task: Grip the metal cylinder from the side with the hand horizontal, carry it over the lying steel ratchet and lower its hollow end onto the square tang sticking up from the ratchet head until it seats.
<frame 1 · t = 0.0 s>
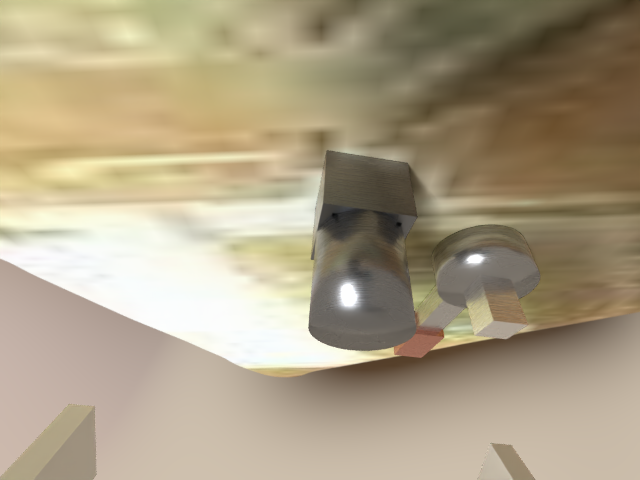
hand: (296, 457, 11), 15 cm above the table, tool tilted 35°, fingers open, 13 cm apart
ratchet: (476, 254, 26), on the table
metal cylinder: (357, 187, 22), on the table
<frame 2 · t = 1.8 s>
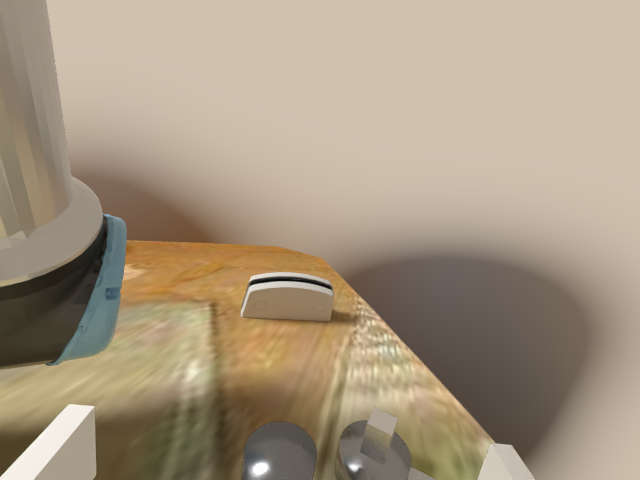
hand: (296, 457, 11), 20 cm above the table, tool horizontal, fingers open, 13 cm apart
ratchet: (369, 472, 33), on the table
hinge: (286, 317, 61), on the table
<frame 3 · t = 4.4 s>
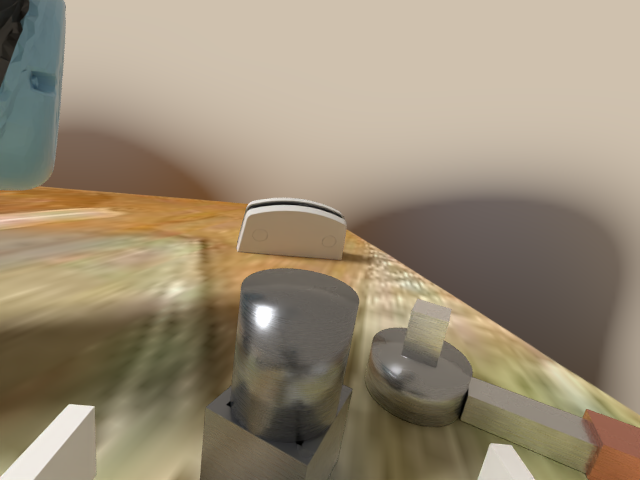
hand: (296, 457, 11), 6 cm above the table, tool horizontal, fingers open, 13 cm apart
ratchet: (411, 388, 24), on the table
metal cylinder: (274, 472, 16), on the table
hinge: (290, 255, 52), on the table
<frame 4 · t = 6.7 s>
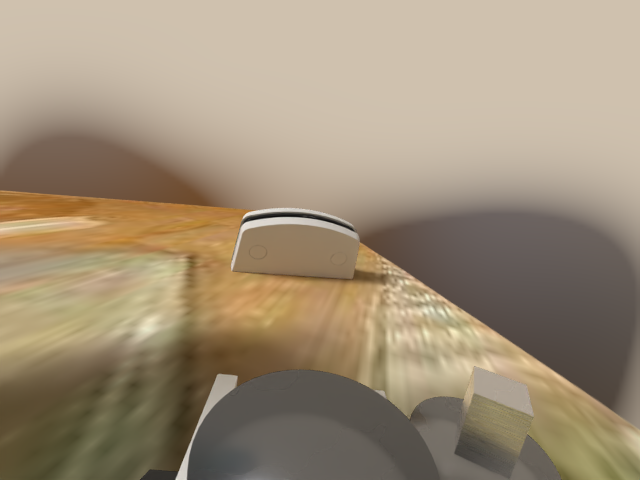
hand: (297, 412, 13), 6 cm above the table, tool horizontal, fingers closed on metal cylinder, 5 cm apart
hinge: (293, 274, 45), on the table
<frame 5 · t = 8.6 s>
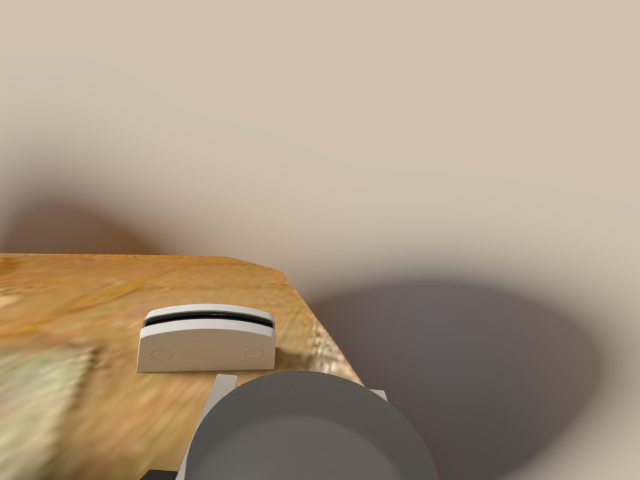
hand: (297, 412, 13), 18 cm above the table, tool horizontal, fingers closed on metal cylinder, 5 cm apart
hinge: (209, 367, 42), on the table
when the fingers open (10 cm above the table, at t = 11.0 s): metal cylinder stays where it is, resting on ratchet.
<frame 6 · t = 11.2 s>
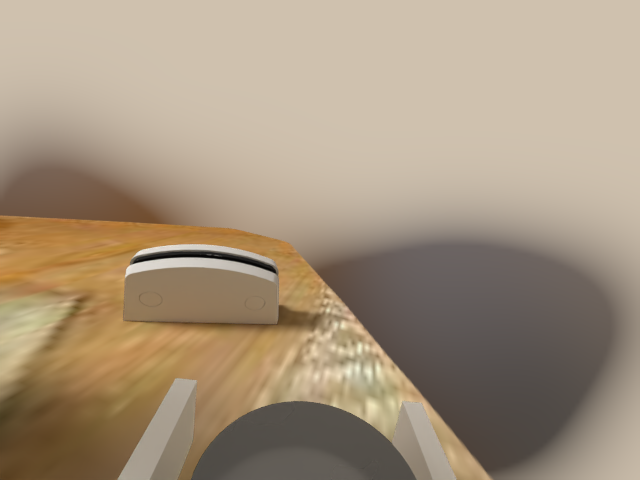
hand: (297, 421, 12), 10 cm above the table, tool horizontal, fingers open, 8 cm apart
hinge: (205, 320, 38), on the table
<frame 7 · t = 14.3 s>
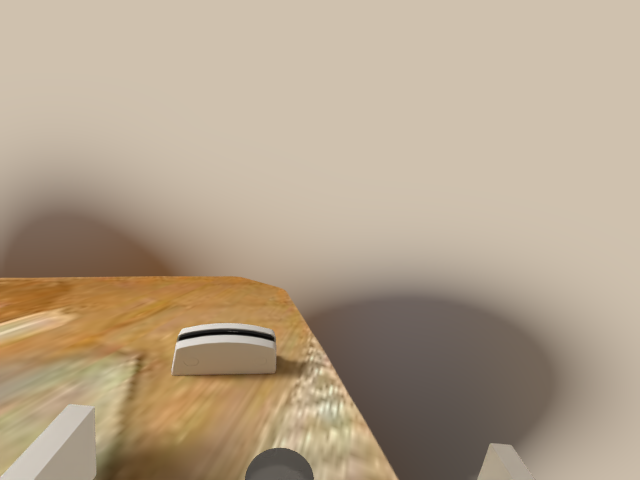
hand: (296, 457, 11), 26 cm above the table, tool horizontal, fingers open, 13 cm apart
hinge: (225, 371, 55), on the table
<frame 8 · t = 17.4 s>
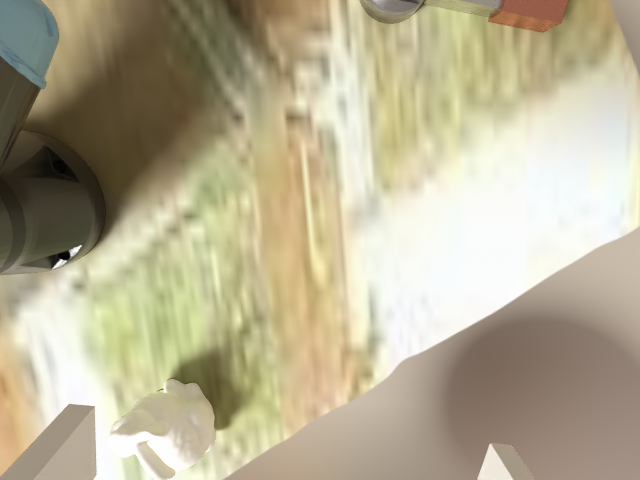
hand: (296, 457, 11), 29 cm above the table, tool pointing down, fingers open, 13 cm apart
rabbit: (182, 396, 44), on the table
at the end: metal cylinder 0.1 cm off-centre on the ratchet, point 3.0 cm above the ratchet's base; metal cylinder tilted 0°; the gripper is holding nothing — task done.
